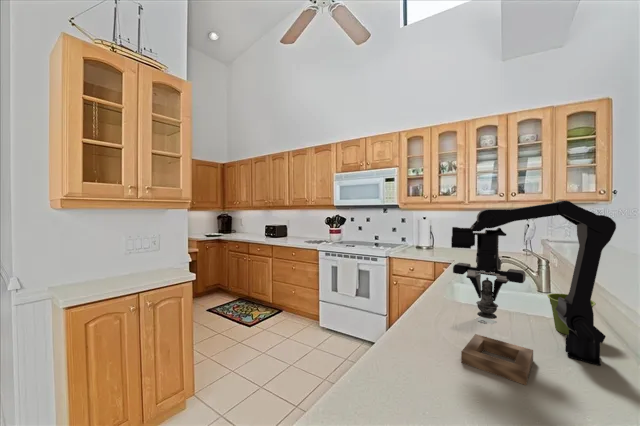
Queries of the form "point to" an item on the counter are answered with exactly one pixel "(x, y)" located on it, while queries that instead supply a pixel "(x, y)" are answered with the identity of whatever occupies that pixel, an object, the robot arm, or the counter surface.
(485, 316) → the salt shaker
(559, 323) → the plant pot
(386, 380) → the counter surface
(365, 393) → the counter surface
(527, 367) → the well block
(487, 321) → the mounting bracket
